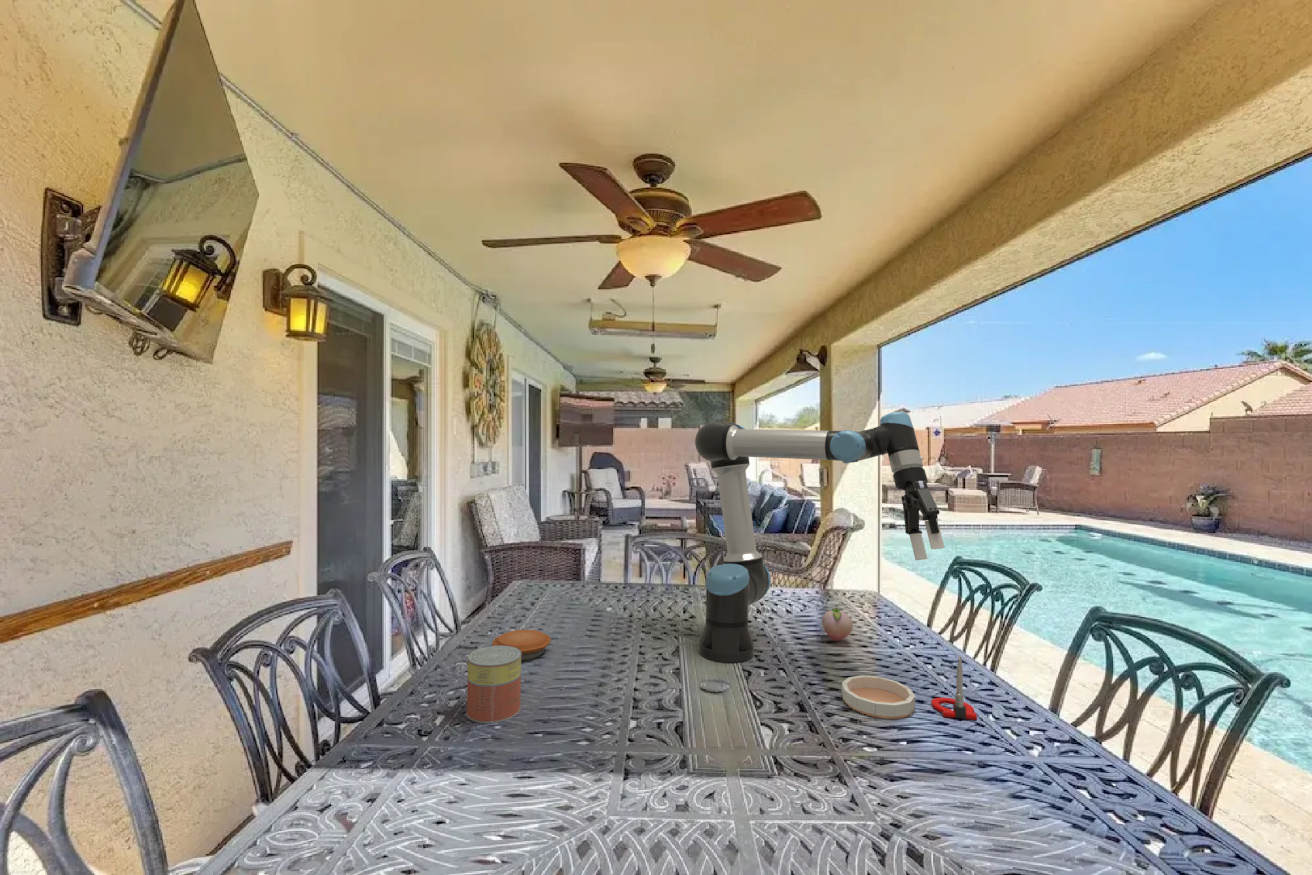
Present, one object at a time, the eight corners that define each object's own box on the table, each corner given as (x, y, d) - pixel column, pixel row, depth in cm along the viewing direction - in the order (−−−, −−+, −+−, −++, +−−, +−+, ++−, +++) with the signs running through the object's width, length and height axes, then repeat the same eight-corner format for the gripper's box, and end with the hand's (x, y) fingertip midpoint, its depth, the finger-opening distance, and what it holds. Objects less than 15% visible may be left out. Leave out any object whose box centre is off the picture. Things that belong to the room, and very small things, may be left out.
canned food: (504, 693, 132) (504, 641, 132) (530, 711, 124) (531, 655, 124) (457, 709, 124) (457, 653, 124) (482, 729, 116) (483, 669, 116)
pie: (479, 659, 152) (479, 640, 152) (514, 640, 167) (515, 623, 167) (528, 668, 147) (529, 649, 147) (560, 648, 161) (561, 630, 161)
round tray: (848, 715, 124) (848, 701, 124) (838, 686, 139) (838, 673, 139) (922, 722, 122) (922, 707, 122) (903, 691, 136) (903, 678, 136)
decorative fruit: (856, 647, 165) (856, 612, 166) (827, 646, 166) (828, 611, 166) (846, 635, 175) (846, 603, 175) (819, 635, 175) (819, 602, 175)
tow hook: (926, 700, 133) (939, 718, 124) (926, 644, 134) (940, 657, 124) (965, 704, 132) (981, 722, 122) (965, 647, 132) (982, 660, 123)
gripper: (938, 451, 134) (963, 541, 126) (910, 484, 157) (930, 562, 148) (905, 455, 135) (928, 545, 126) (882, 487, 158) (900, 564, 149)
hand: (929, 554), depth 137 cm, fingers open, 13 cm apart
